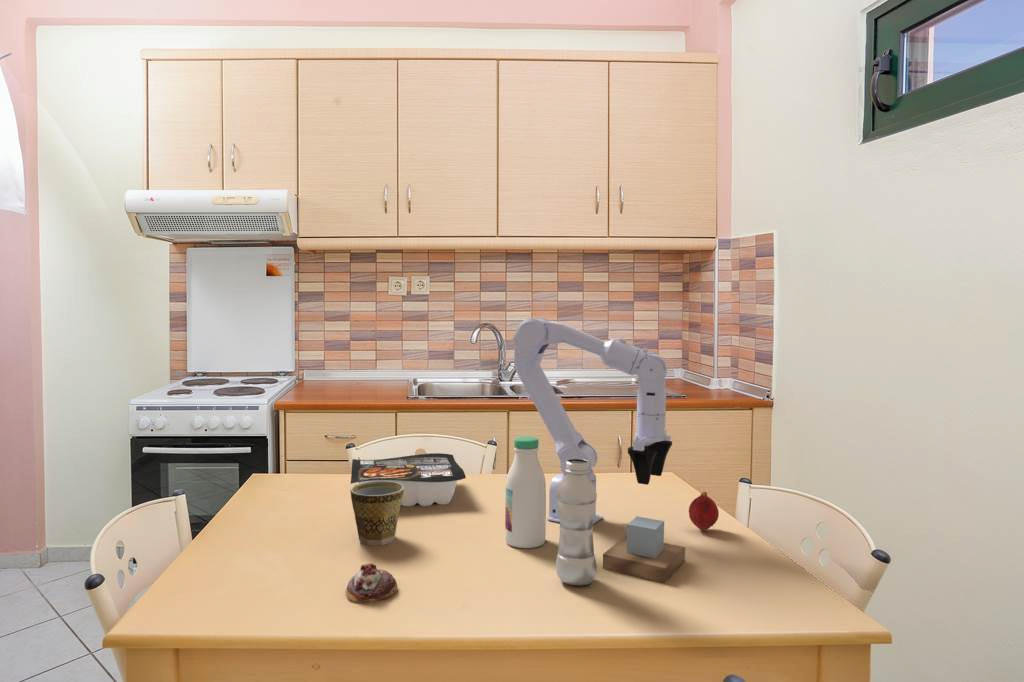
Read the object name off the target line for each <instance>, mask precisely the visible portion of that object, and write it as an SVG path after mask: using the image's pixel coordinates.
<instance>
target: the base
mask: <svg viewBox="0 0 1024 682" xmlns="http://www.w3.org/2000/svg"><path fill="white" fill-rule="evenodd" d="M685 561H686V546H681V545H677V544H671V543H667V542H664V549H663V550H662V551H661V553H660V554H659V555H658V556H657V557H656V558H650V557H645V556H640V555H635V554H631V553H627V534H626V535H624V537H622V538H621V539H620V540H618V542H616V543H615V544H613V545H612V546H611V547H610V548H608V549H607V550H606V551H605V552H603V553H602V569H605V570H607V571H612V572H613V571H614V572H616V573H621V574H625V575H630V576H634V577H638V578H641V579H642V578H643V579H647V580H651V581H654V582H659V583H662V582H663V584H665V582H666V583H667V582H668V580H670V578H671V577H672V576H673V575H674V574H675V572H676V571H677V570H678V569H679V568H680V567H681V566H682V565H683V564H684V563H685Z"/></svg>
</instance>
